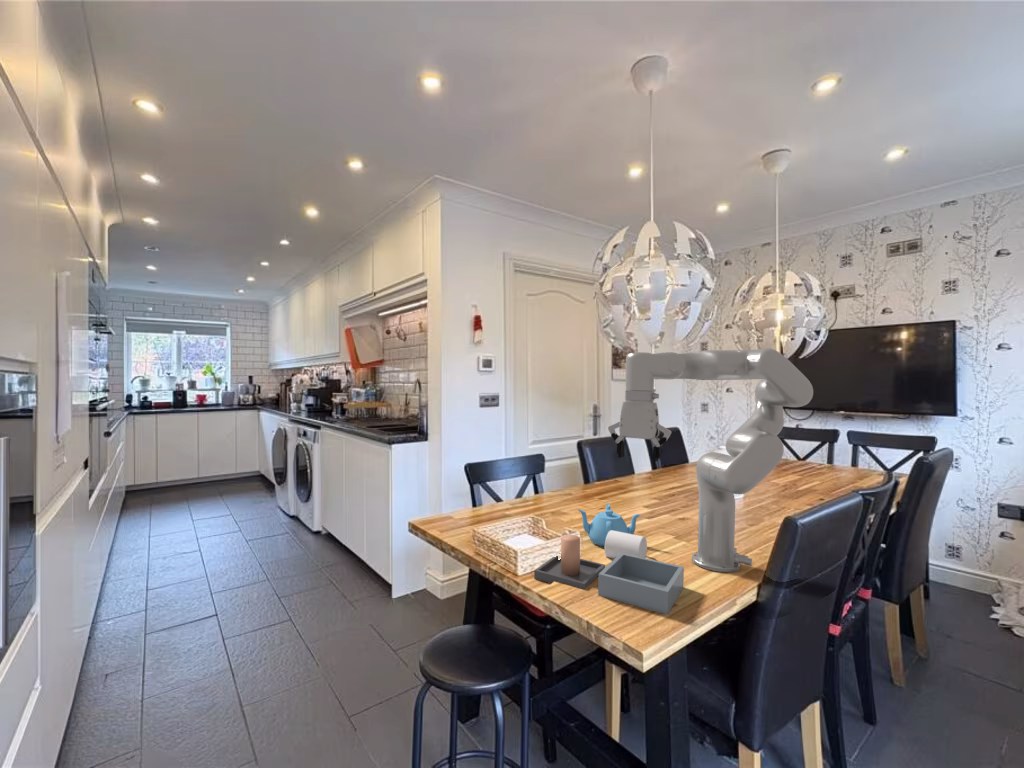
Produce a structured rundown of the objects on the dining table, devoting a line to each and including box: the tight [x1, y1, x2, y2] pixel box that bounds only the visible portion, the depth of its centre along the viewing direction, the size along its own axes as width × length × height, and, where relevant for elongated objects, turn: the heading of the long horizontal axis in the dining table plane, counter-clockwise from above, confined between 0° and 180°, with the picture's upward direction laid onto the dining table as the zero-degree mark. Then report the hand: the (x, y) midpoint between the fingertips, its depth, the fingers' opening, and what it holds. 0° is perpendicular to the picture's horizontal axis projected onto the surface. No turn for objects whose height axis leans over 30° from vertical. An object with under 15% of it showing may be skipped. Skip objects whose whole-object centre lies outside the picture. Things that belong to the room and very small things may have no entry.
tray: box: [533, 556, 606, 590], centre depth 120 cm, size 14×14×2 cm
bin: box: [597, 553, 685, 615], centre depth 110 cm, size 16×16×6 cm
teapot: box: [577, 503, 642, 548], centre depth 146 cm, size 15×15×10 cm
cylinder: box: [560, 534, 581, 576], centre depth 120 cm, size 5×5×9 cm
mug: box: [604, 530, 648, 560], centre depth 132 cm, size 12×10×8 cm
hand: (638, 459), depth 126 cm, fingers open, 9 cm apart
